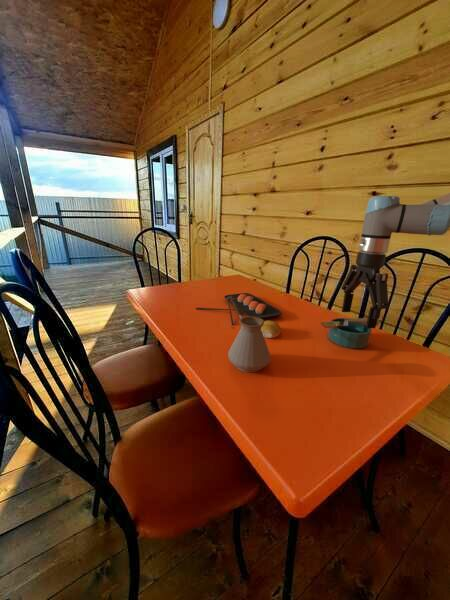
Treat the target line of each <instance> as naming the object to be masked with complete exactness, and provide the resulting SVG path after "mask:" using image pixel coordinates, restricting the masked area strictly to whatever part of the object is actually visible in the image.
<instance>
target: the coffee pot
mask: <svg viewBox="0 0 450 600" xmlns="http://www.w3.org/2000/svg"><path fill="white" fill-rule="evenodd" d="M228 298H229V297H228ZM228 298H227V300H226V301H227V302H228V301H231V302H232V303H233V304H232V303H231V304H232V306H233V309H234V310H236V311H235V312H236V314H237V315H238V317H239V320H238V322H239V325H240V326H241V327H240V329H239V331H238V333H237V335H236V336H235V338H234V341H233V342H232V344H231V347H230V348H229V349H228V352H227V356H228V357H227V358H228V359H229V361H230V363H231V364H232V365H234V367H236V369H238V370H239V371H242V372H245V373H255V372H259V371H261V370H262V369H264V368H266V367H267V366H268V364H270V361H271V352H270V350H269V347H268V344H267V341H266V338H265V337H264V336H263V333H262V331H261V327H262V326H263V325H264V321H265V320H264V318H257V317H251V316H248V315H247V316H243V315H242V313H241V312H242V311H240V309H239V307H238V305H237V304H236V303H235V300H234V299H233V296H230V299H231V300H228Z"/></svg>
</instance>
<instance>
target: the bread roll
mask: <svg viewBox="0 0 450 600" xmlns="http://www.w3.org/2000/svg"><path fill="white" fill-rule="evenodd" d="M261 331H262V333H263V336H264V339H275V338H277V337H278V336H280V334H281V332H282V327H281V326H280V324H278V323H277V322H276V321H273V320H264V325H263V326H262V327H261Z"/></svg>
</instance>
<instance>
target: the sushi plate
mask: <svg viewBox="0 0 450 600" xmlns="http://www.w3.org/2000/svg"><path fill="white" fill-rule="evenodd" d="M230 296H233V299H234V300H235V303H236V304H237V305H238V307H239V310H240V312H242V313H244V314H245V315H246V316H247V317H248V316H251V317H257V318H261V319H267V318H273V317H278V316H281V315H283V312H282V311H281V310H280V309H279V308H277V307H275V306H273V305H271V304H269V303H268V302H266V301H264V300H262V299H261V298H259V297H258V296H255V295H254V294H252V293H249V292H242V293H231V294H225V295H224V296H223V297H224V299H225V300H226V301H227V304H228V308H215V307H214V308H212V307H195V309H196V310H204V311H205V310H208V311H229V316H230V322H231V326H234V319H233V314H232V311H233V312H234V311H235V312H236V310H235V308H233V309H231V306H230V304H231V305H233V303H232V302H231V301H228V300H231V299H230ZM228 297H229V298H228ZM227 298H228V300H227Z"/></svg>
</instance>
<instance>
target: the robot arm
mask: <svg viewBox="0 0 450 600" xmlns="http://www.w3.org/2000/svg"><path fill="white" fill-rule="evenodd" d="M400 198H401V197H399V196H396V195H375V196H372V197H370V198H369V200H368V203H367V206H366V210H365V213H364V218H363V225H362V230H361V235H360V239H359V240H360V241H359V245H358V252H357V255H356V259H355V264H351V265H350V268H349V272H348V274H347V275H346V277H345V279H344V281H343V283H342V285H341V287H340V289H341V290H342V291H343V293H344V295H343V302H342V307H341V312H342V313H351V309H352V306H353V305H352V304H353V301H354V295H355V294H354V293H355V290H356V289H357V288H358V287H359V286H360V285H361V284H362V283H363V284H364V285H365V287H366V288H367V289H368V293H369V297H370V301H371V306H370V307H369V310H368V315H367V318H368V319H367V323H366V328H371V329H376V327H377V326H376V324H377V320H380V316H381V312H382V310H387V309H389V307H390V305H389V292H388V278H389V274H388V273H381V268H383V267H384V266H385V264H386V263H385V262H386V259H387V255H386V253H388V251H389V246H390V243H391V238H392V233H393V234H394V233H395V234H409V235H422V236H423V235H424V236H425V235H427V236H443V235H446V234H447V232H448V231H449V229H450V192H448V193H445V194H444V195H441V196H438V197H436V198H433V199H432V200H428V201H426V202H424V203H421V204H406V203H405V204H404V203H401V202H400V200H401V199H400Z"/></svg>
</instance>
